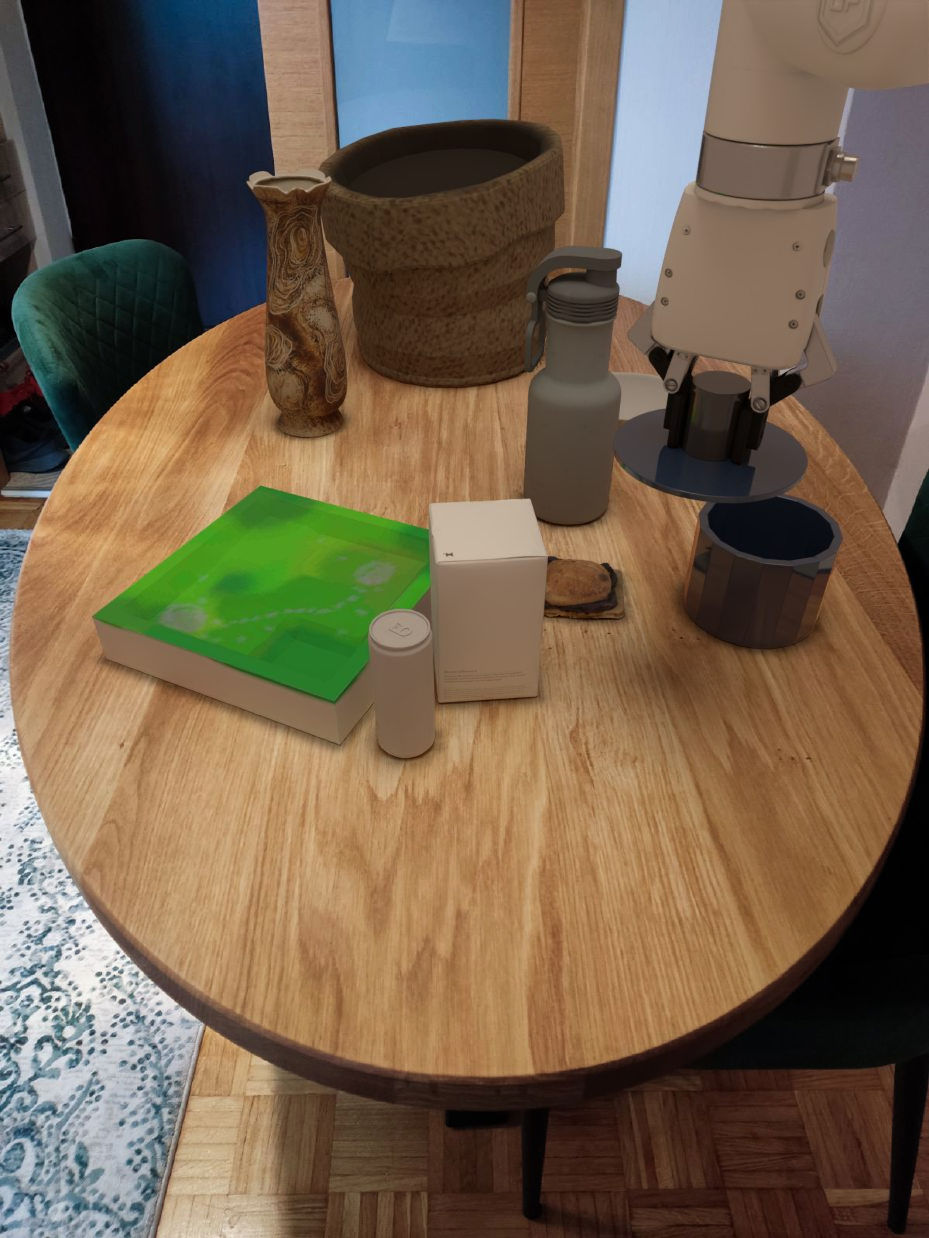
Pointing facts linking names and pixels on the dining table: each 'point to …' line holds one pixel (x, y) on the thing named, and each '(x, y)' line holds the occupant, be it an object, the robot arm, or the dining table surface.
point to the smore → (583, 589)
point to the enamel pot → (761, 570)
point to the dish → (639, 394)
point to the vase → (300, 305)
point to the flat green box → (274, 609)
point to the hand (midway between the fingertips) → (709, 445)
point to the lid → (710, 448)
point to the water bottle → (572, 385)
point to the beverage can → (402, 681)
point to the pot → (445, 243)
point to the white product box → (486, 598)
